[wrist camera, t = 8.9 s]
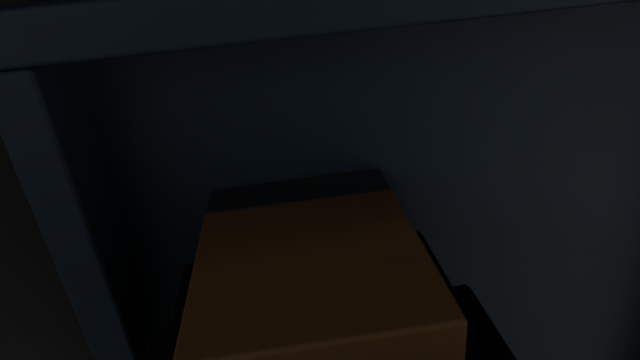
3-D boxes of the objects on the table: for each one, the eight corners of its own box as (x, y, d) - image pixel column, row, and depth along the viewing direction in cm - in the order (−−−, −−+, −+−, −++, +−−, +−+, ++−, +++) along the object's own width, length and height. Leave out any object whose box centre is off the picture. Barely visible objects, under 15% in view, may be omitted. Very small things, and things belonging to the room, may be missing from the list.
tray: (26, 1, 8) (-54, 15, 6) (788, -76, 9) (944, -87, 7) (202, 511, 15) (193, 599, 13) (626, 437, 16) (681, 508, 14)
